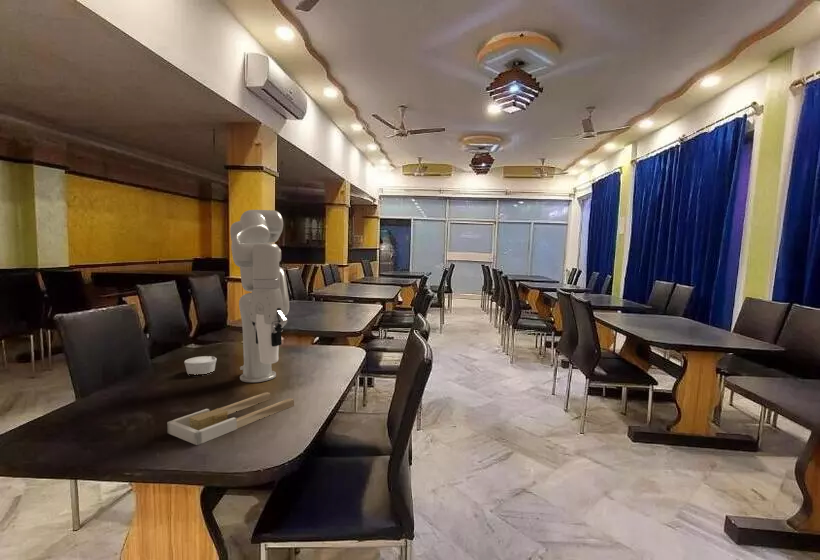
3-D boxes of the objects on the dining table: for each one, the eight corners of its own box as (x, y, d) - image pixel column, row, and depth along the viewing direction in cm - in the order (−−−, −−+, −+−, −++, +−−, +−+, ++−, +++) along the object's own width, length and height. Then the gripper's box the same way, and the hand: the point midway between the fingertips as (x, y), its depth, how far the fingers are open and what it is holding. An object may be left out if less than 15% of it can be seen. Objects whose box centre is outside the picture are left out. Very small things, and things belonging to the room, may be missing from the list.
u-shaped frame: (167, 433, 112) (167, 421, 112) (207, 419, 121) (206, 408, 121) (197, 445, 105) (196, 433, 105) (236, 429, 114) (236, 418, 114)
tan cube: (190, 432, 113) (189, 417, 112) (204, 427, 116) (203, 412, 116) (199, 436, 111) (198, 420, 110) (213, 430, 114) (212, 415, 114)
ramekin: (219, 373, 166) (219, 360, 166) (187, 378, 160) (186, 364, 160) (214, 367, 176) (213, 354, 175) (183, 372, 169) (182, 358, 169)
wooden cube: (205, 427, 116) (204, 413, 116) (218, 422, 119) (218, 408, 119) (214, 430, 114) (214, 415, 114) (227, 425, 117) (227, 410, 117)
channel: (208, 419, 121) (207, 412, 121) (266, 398, 138) (266, 392, 138) (236, 429, 114) (235, 421, 114) (294, 405, 131) (293, 399, 131)
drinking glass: (285, 360, 133) (284, 311, 132) (271, 366, 126) (270, 315, 125) (267, 358, 135) (265, 310, 134) (252, 364, 129) (250, 314, 128)
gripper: (237, 284, 131) (239, 343, 132) (276, 287, 121) (278, 350, 123) (258, 282, 137) (260, 338, 138) (296, 285, 127) (298, 345, 129)
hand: (268, 343), depth 130 cm, fingers closed on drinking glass, 6 cm apart
